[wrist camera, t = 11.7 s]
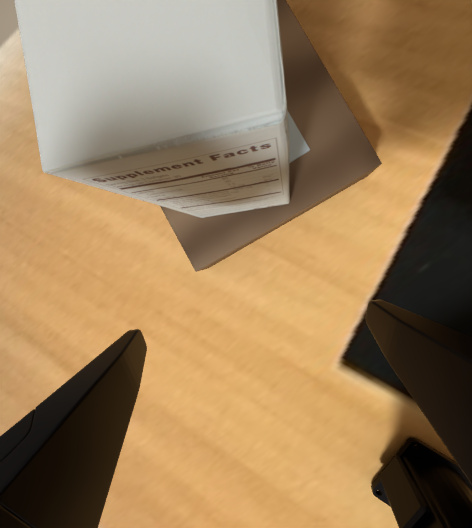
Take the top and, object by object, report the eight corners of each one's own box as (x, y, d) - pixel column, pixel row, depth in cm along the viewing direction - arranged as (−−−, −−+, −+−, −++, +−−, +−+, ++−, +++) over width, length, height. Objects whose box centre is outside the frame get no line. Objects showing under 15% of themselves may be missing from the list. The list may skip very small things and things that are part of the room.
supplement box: (189, 129, 18) (-12, -103, 6) (282, 106, 17) (261, -287, 4) (200, 220, 19) (31, 175, 7) (291, 207, 17) (295, 112, 5)
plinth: (367, 176, 18) (382, 162, 15) (208, 268, 22) (195, 272, 19) (272, 13, 19) (268, -31, 16) (133, 130, 23) (109, 113, 20)
